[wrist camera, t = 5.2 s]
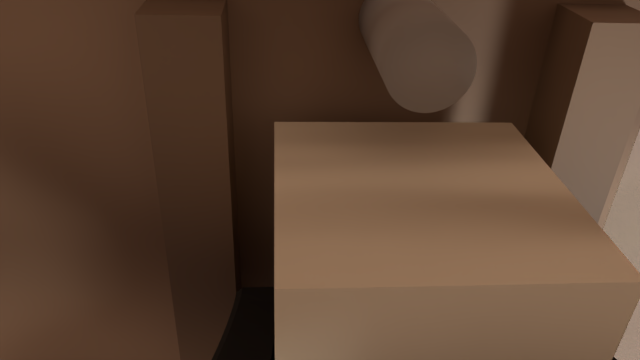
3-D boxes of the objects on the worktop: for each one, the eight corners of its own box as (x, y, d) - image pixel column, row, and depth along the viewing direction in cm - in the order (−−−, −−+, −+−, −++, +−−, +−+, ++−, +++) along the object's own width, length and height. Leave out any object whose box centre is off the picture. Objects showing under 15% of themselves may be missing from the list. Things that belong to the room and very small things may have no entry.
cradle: (516, 397, 16) (571, 522, 13) (-217, 425, 15) (-343, 573, 12) (660, -36, 10) (822, 14, 7) (-577, -70, 8) (-1041, -24, 6)
